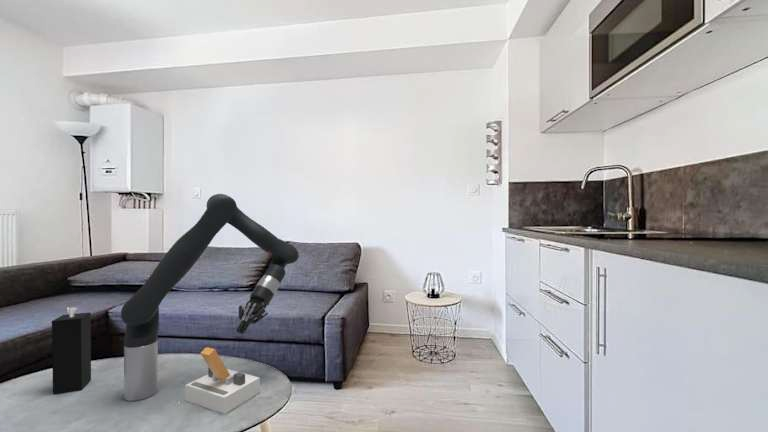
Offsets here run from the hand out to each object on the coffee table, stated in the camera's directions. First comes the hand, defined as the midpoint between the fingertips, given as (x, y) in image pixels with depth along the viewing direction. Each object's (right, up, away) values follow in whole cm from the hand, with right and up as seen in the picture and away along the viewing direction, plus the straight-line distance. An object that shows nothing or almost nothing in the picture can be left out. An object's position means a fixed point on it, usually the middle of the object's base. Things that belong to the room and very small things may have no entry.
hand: (239, 332), depth 119 cm
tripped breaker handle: (-3, -13, -6) cm, 14 cm away
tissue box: (-58, -19, +1) cm, 62 cm away
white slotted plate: (-3, -19, -6) cm, 20 cm away
